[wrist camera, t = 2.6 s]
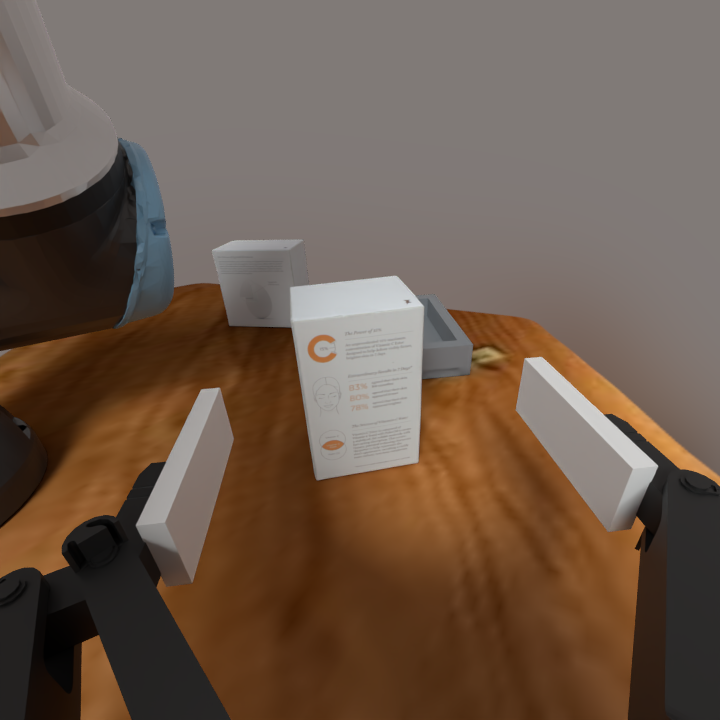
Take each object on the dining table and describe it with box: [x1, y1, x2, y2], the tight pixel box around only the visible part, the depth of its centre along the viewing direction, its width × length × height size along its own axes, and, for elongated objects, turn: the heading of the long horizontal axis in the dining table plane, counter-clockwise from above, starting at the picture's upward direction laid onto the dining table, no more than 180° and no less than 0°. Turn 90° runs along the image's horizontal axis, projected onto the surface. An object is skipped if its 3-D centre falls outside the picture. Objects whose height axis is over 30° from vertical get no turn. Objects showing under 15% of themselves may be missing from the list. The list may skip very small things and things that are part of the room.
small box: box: [290, 276, 424, 480], centre depth 28 cm, size 8×6×13 cm
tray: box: [416, 294, 473, 379], centre depth 45 cm, size 14×14×4 cm
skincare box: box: [212, 240, 309, 328], centre depth 53 cm, size 10×6×10 cm, turn 80°
